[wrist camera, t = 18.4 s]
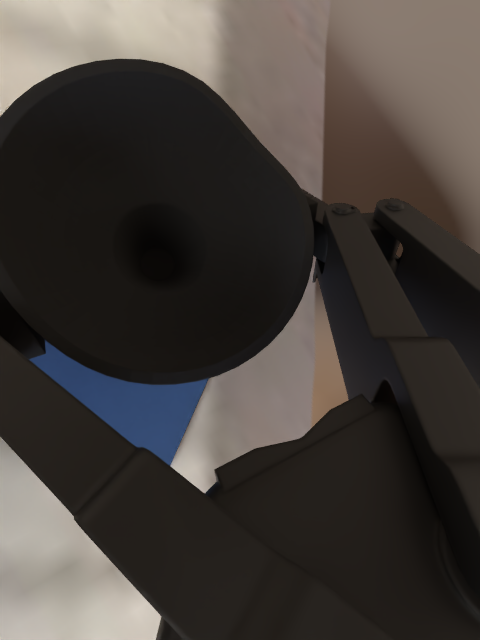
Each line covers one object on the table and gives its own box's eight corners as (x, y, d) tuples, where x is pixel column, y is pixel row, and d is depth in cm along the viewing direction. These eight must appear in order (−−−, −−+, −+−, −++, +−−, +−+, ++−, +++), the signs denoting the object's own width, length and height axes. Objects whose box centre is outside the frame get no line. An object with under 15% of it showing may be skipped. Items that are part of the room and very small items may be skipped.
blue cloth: (-35, 398, 18) (-41, 400, 17) (132, 117, 22) (132, 111, 21) (166, 468, 21) (167, 471, 20) (281, 210, 25) (284, 206, 24)
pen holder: (221, 205, 20) (295, 81, 11) (239, 353, 20) (332, 359, 10) (54, 202, 17) (-46, 31, 8) (71, 376, 17) (-13, 415, 8)
